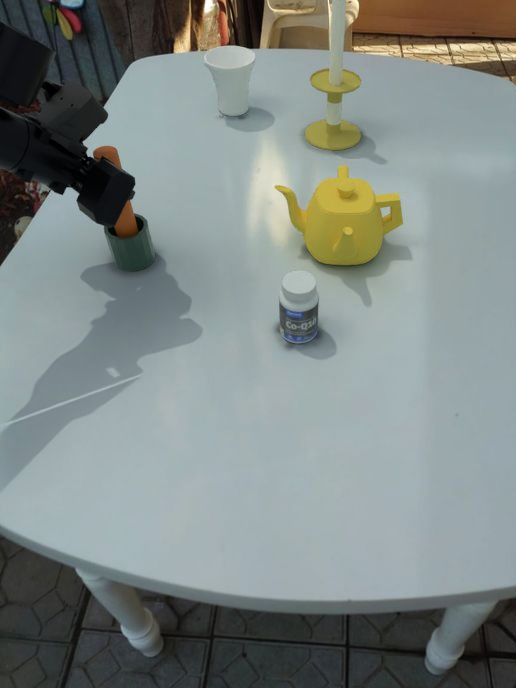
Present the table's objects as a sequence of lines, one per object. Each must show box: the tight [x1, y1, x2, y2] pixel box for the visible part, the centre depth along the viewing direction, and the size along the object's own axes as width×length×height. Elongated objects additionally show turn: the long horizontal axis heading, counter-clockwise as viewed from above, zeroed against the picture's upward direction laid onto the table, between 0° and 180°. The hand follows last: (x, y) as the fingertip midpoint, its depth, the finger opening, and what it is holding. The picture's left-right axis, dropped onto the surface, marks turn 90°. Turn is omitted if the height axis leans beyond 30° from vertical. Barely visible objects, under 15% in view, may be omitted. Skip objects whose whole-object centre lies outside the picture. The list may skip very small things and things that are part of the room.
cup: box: [203, 45, 257, 117], centre depth 105 cm, size 9×9×10 cm
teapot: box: [274, 164, 404, 266], centre depth 81 cm, size 14×13×10 cm
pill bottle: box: [278, 270, 320, 344], centre depth 70 cm, size 5×5×8 cm
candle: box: [304, 0, 362, 151], centre depth 93 cm, size 10×10×27 cm
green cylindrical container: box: [103, 212, 156, 272], centre depth 79 cm, size 6×6×6 cm
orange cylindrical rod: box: [92, 145, 139, 237], centre depth 74 cm, size 3×3×12 cm
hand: (126, 190), depth 74 cm, fingers closed on orange cylindrical rod, 3 cm apart
